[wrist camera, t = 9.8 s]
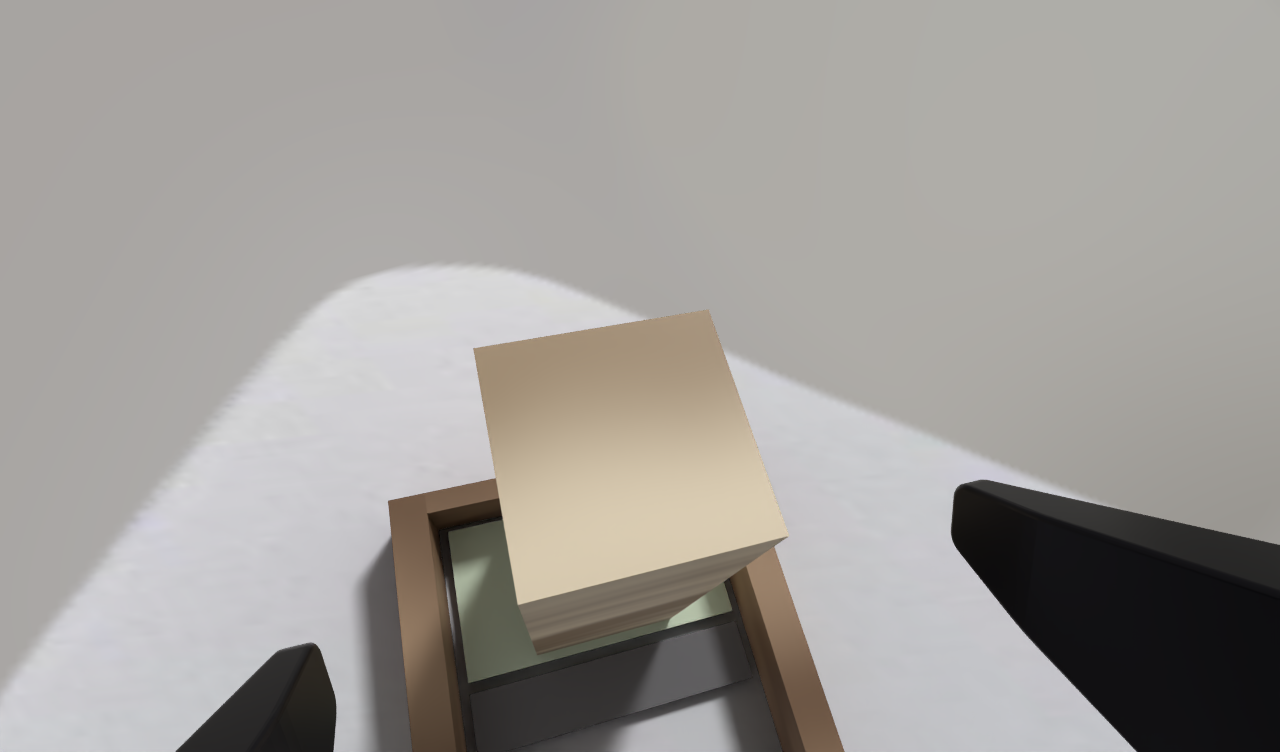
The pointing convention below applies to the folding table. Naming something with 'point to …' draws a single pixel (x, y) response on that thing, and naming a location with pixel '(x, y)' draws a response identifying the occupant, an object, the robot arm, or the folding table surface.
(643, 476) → the maple block
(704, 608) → the pad
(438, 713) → the brown rectangular frame
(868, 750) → the folding table surface
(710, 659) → the pads
